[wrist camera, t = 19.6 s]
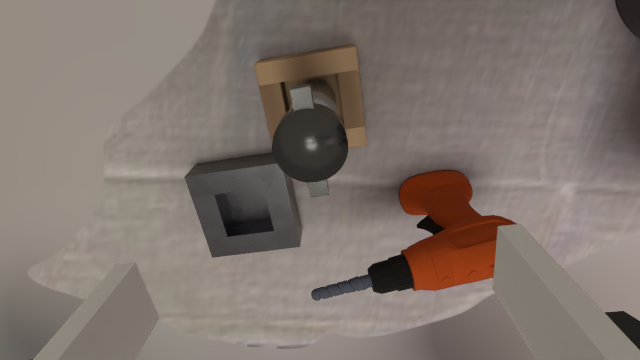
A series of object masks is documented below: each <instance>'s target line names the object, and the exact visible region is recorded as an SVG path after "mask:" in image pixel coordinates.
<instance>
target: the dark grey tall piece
mask: <svg viewBox="0 0 640 360" xmlns="http://www.w3.org/2000/svg"><path fill="white" fill-rule="evenodd" d="M290 94H291V99H292V105H291V107H290V110H289V111H288V112H287V113H285V115H284V116H283V117H282V118H281V120H280V122H279V124H278V126H277V128H276V131H275V133H274V136H273V141H272V150H273V155H274V158H275V161H276V163H277V164H278V166H279V167H280V168H281V170H282V171H283V172H284V173H286V174H287V175H288V176H290V177H292V178H293V179H296V180H298V181H302V182H308V187H309V192H310V197H317V196H324V195H329V188H328V181H327V179H328V178H330V177H331V176H333V175H334V174H336V173H337V172H338V171H339V170H340V169H341V167H342V166H343V164H344V162H345V160H346V157H347V153H348V140H347V135H346V130H345V127H344V124H343V122H342V120H341V119H340V117H339V116H338V110H337V104H336V98H335V93H334V91H333V89H332V88H331V86H330V85H329V84H328V83H326V82H324V81H322V80H318V79H313V80H309V81H306V82H305V83H303V84H302V85H299V86H293V87H291V88H290Z"/></svg>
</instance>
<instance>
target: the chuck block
mask: <svg viewBox="0 0 640 360" xmlns="http://www.w3.org/2000/svg"><path fill="white" fill-rule="evenodd" d="M185 180H186V183H187V185H188V188H189V191H190V194H191V197H192V200H193V203H194V206H195V209H196V211H197V214H198V217H199V220H200V223H201V226H202V229H203V232H204V235H205V237H206V240H207V243H208V246H209V249H210V252H211V255H212V257H220V256H229V255H237V254H245V253H253V252H261V251H269V250H277V249H285V248H293V247H300V243H301V234H302V227H301V222H300V217H299V213H298V208H297V203H296V198H295V194H294V189H293V184H292V180H291V177H290V176H288V175H287V174H286V173H284V172H283V171H282V170H281V168H280V167H279V166H278V164H277V163H276V161H275V158H274V155H273V153H268V154H261V155H254V156H247V157H241V158H234V159H227V160H220V161H213V162H207V163H200V164H196V165H195V166H194V167H193V168H192V169H191V170H190V171H189V173H188V174H187V175H186V176H185Z"/></svg>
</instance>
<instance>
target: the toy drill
mask: <svg viewBox="0 0 640 360" xmlns="http://www.w3.org/2000/svg"><path fill="white" fill-rule="evenodd" d="M471 197H472V187H471V185H470V183H469V181H468V179H467V177H466V176H464V175H463V174H462V173H460V172H458V171H452V170H443V171H434V172H428V173H423V174H419V175H416V176H413V177H411V178H409V179H408V180H406V181H405V182H404V183H403V184H402V186H401V189H400V194H399V198H400V203H401V205H402V207H403V210H404V211H405V212H406V213H408V214H410V215H428V216H427V217H425V218H424V219H423V220H422V221H420V222H419V223H418V224H417V228H421V229H424V230H427V231H429V232H431V233H432V234H433V236H431V237H428V238H426V239H423V240H421V241H419V242H417V243H415V244H413V245H411V246H409V247H408V248H407V249H405V250H402V251H401V255H397V256H394V257H390V258H388V260H385V261H381V262H378V263H374V264H372V265H371V266H370V267H369V268H368V275H364V276H361V277H358V276H357V277H355V278H352V279H350V280H348V281H343V282H339V283H337V284H331V285H328V286H326V287H320V288H317V289H314V290H313V291H312V293H311V295H312V298H313V299H314V300H320V299H321V298H322V299H325V298H329V297H332V296H333V295H334V296H337V295H341V294H344V292H345V293H350V292H355V291H356V290H357V291H360V290H365V289H367V288H369V287H372V288H373V291H374V292H377V293H381V294H383V293H387V292H391V291H395V290H398V291H402V290H406V289H410V288H412V289H413V290H414V291H416V290H433V291H436V290H440V289H445V288H449V287H453V286H457V285H461V284H467V283H472V282H477V281H481V280H485V279H489V278H493V277H494V266H495V254H496V241H497V229H498V226H505V225H515V224H516V223H514V222H513V221H511V220H509V219H506V218H504V217H501V216H495V215H490V216H481V215H480V214H478V213H477V212H476V211H475V210H474V209H473V208H472V207H471V206H470V204H469V201H470V200H471Z"/></svg>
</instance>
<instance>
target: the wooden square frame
mask: <svg viewBox="0 0 640 360" xmlns="http://www.w3.org/2000/svg"><path fill="white" fill-rule="evenodd" d="M254 66H255V70H256V75H257V79H258V84H259V88H260V92H261V97H262V101H263V106H264V110H265V114H266V119H267V123H268V128H269V132H270V137H271V141H273V136H274V133H275V131H276V128H277V126H278V124H279V122H280V120H281V118H282V117H283V116H284V115H285V113H287V112H288V111H289V110H290V107H291V105H292V99H291V94H290V88H291V87H293V86H299V85H302V84H303V83H305V82H306V81H309V80H313V79H318V80H322V81H324V82H326V83H328V84H329V85H330V86H331V88H332V89H333V91H334V93H335V98H336V104H337V110H338V116H339V117H340V119H341V120H342V122H343V124H344V127H345V130H346V135H347V140H348V148H354V147H361V146H367V139H366V130H365V121H364V112H363V103H362V94H361V85H360V76H359V67H358V58H357V49H356V46H355V45H354V44H352V45H346V46H340V47H334V48H328V49H322V50H316V51H310V52H305V53H299V54H293V55H287V56H281V57H275V58H269V59H263V60H260V61H258V62H256V63H255V64H254Z"/></svg>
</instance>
